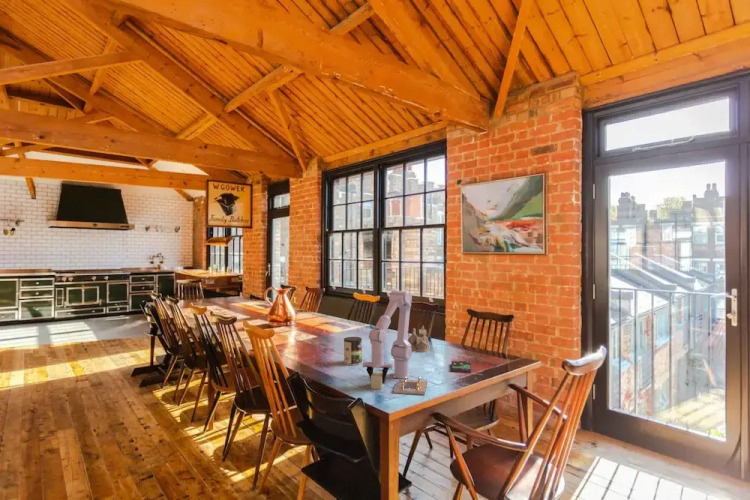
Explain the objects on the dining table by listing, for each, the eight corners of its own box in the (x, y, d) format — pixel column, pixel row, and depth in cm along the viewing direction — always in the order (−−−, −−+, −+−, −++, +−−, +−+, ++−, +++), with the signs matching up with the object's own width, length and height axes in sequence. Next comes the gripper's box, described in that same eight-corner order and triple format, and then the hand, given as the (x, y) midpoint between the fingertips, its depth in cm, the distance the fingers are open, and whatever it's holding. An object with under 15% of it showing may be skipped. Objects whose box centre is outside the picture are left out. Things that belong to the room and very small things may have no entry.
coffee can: (363, 360, 244) (363, 336, 244) (359, 365, 234) (359, 340, 234) (346, 360, 246) (346, 336, 246) (341, 364, 236) (341, 340, 236)
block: (374, 383, 204) (374, 370, 204) (384, 383, 203) (384, 371, 203) (370, 388, 196) (370, 375, 196) (381, 389, 195) (381, 376, 195)
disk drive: (451, 365, 236) (451, 372, 221) (451, 360, 236) (451, 367, 221) (470, 366, 234) (471, 373, 219) (469, 361, 234) (471, 368, 219)
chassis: (398, 382, 204) (398, 374, 204) (427, 384, 201) (427, 375, 201) (393, 393, 190) (393, 384, 190) (424, 395, 187) (424, 386, 187)
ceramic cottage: (408, 345, 282) (408, 323, 281) (432, 347, 277) (432, 325, 276) (402, 352, 267) (402, 329, 266) (427, 355, 262) (428, 331, 261)
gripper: (360, 355, 197) (361, 384, 197) (391, 357, 194) (391, 386, 194) (364, 352, 204) (364, 379, 204) (393, 353, 201) (393, 381, 201)
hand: (377, 382), depth 199 cm, fingers closed on block, 5 cm apart
